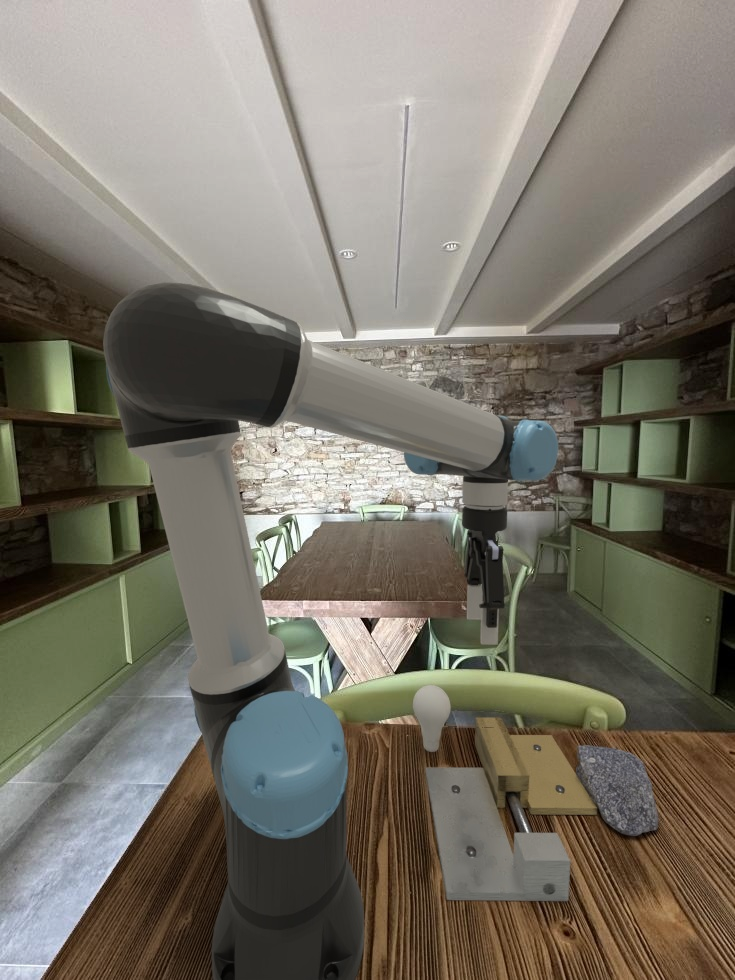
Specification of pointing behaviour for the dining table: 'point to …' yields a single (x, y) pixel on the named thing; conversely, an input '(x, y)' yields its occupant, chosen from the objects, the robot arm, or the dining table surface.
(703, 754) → the dining table surface
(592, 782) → the rock
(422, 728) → the lightbulb
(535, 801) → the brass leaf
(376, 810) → the dining table surface
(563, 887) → the zinc leaf
